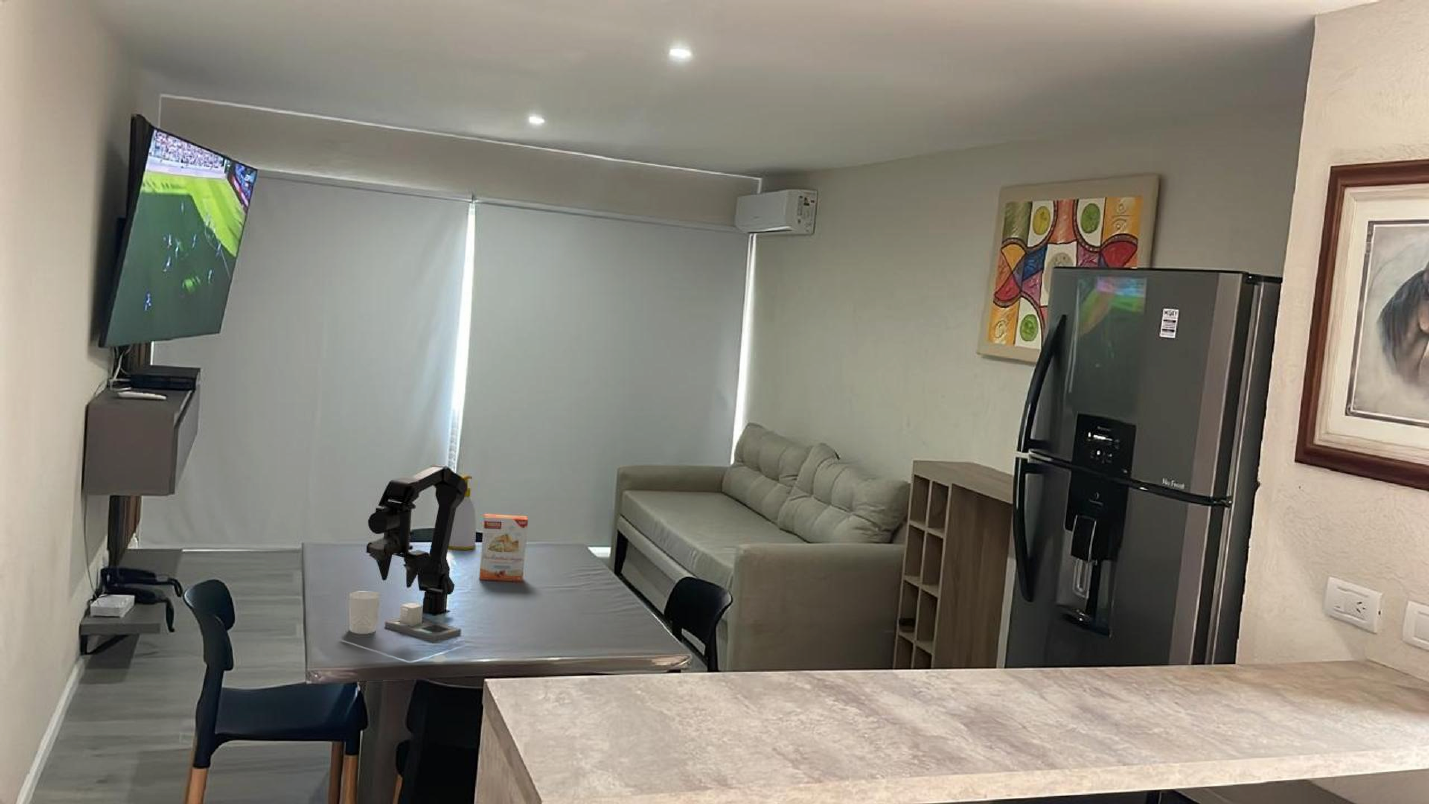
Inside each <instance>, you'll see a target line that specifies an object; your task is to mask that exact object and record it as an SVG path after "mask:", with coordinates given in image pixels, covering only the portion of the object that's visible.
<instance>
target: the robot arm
mask: <svg viewBox="0 0 1429 804" xmlns="http://www.w3.org/2000/svg"><path fill="white" fill-rule="evenodd" d="M430 487H434V488H435V495H434V496H435V500H436V503H437V504H438V507H437V508H438V509H437V512H436V519H435V523H434V528H433V533H432V537H431V538H432V539H431V543H430V544H431V545H430V549H429V552H428V551H425V550H420V549H418V550H413V548H414V545H412V544H411V536H413V535H414V530H412V529H411V523H412V510H414V509H416V508H417V507H416V505H415V503H413V502H415V501H416V500H417V499H418V498H419V497H420V494H421V492H423V491H425V490H427V489H428V488H430ZM466 491H467V483H466V482H465V480H464V479H463V478H462V477H461V475H459V474H457V473H456V472H454V471H453V470H452V469H451V467H449V466H447V465H442V464H432V465H431V466H429V468H426V469H424V470H422V471H420V472H418V473H416V474H414V475H412V476H410V477H400V478H394V479H391V480H390V481H389V482H388V484H387V485H386V487H385V489H384V491H383V494H382V495H381V498H380V500H379V502H378V507H375V512H372V513H371V514H370V515H369V518H368V520H367V525H368V528H369V530H370V531H371V532H372V533H373V534H376V535H382V534H383V537H381V538H379V539H377V540H374V541H373V540H372V541H369V542H368V544H366V549H365V552H366V553H367V554H369V557H370V558H373V560H374V561H375V562H376V564H377V566H378V570H379V574H380V577H381V579H382V581H387V579H388V576H389V572H390V567H391V563H392V558H393V556H397V557H398V558H399V557H400V558H403V561H404V564H402V566H403V567H404V568H405V570H406V571H405V572H406V574H405V577H406V578H405V580H406V581H405V582H406V584H405V585H406V588H411V587H412V585H413V583H414V581H415V579H416V578H417V583H418V584H417V586H418V590H419V591H420V592H423V599H422V606H423V610H422V613H424V614H428V615H431V616H435V617H436V616H440V615H442V614H443V615H444V614H447V613H450V612H451V610H449V609H447V603H448V596H449V595H452V593H454V590H455V587H456V585H455V582H454V581H453V580H452V578H451V577H450V571H451V567H450V565H449V562H448V559H447V555H448V552H449V551H448V550H449V548H448V547H449V542H450V537H451V532H452V527H453V522H454V517H455V512H456V508H457V507H458V506H459V505H460V504H461V502H462V501H463V500H464V497H465V493H466Z"/></svg>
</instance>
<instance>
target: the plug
mask: <svg viewBox="0 0 1429 804" xmlns="http://www.w3.org/2000/svg"><path fill="white" fill-rule="evenodd" d="M422 610H423V604H422V605H421V604H419V603H418V604H417V603H414V602H409V603H405V604H402V605H400V616H399V618H400V623H404V624H407V625H410V626H412V625H416V624H420V623H422V618H423V612H422Z"/></svg>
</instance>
